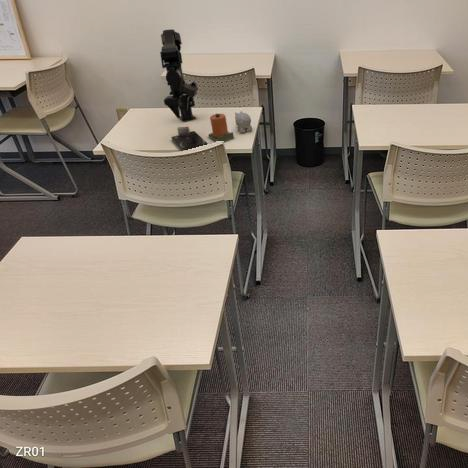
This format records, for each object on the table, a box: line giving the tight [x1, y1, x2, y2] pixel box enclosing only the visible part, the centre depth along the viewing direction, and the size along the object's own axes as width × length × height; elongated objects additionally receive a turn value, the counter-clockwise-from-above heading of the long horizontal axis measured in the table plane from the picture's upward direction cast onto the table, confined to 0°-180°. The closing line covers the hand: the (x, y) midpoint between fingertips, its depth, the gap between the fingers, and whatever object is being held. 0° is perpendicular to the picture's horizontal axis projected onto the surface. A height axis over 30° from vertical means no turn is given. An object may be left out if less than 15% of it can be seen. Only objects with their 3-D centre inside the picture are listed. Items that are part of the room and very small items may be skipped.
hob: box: [171, 130, 209, 152], centre depth 215 cm, size 20×11×2 cm, turn 32°
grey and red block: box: [176, 126, 191, 136], centre depth 218 cm, size 5×2×4 cm, turn 86°
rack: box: [207, 131, 235, 143], centre depth 219 cm, size 9×8×3 cm
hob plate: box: [180, 137, 206, 149], centre depth 212 cm, size 11×11×1 cm
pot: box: [209, 113, 229, 137], centre depth 216 cm, size 7×7×9 cm
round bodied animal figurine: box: [234, 111, 253, 134], centre depth 225 cm, size 7×12×8 cm, turn 25°
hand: (182, 114), depth 213 cm, fingers open, 9 cm apart
